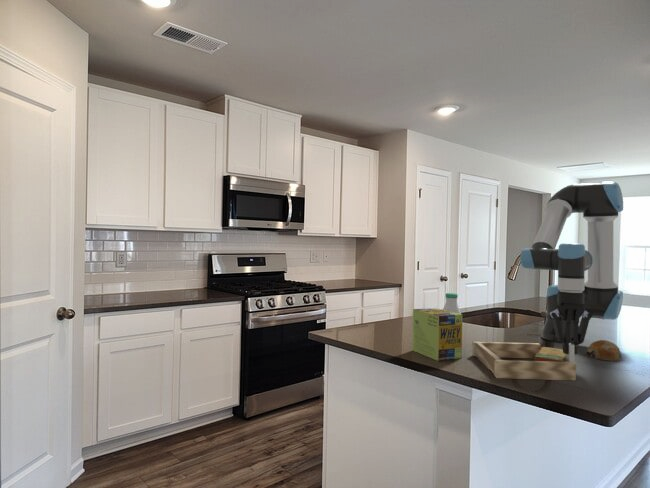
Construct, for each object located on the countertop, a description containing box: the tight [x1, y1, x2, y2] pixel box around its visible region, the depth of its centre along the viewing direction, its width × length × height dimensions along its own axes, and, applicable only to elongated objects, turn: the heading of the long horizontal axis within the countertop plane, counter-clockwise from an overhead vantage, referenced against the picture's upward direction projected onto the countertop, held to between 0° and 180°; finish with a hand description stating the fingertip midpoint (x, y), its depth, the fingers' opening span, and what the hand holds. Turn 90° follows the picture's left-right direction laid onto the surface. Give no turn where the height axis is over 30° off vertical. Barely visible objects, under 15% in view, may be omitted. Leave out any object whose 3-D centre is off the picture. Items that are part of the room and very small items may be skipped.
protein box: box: [411, 307, 463, 362], centre depth 154 cm, size 10×15×16 cm
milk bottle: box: [442, 292, 462, 314], centre depth 170 cm, size 8×8×20 cm
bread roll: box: [586, 339, 622, 362], centre depth 152 cm, size 10×10×8 cm
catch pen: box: [471, 341, 577, 381], centre depth 140 cm, size 23×25×5 cm
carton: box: [534, 346, 565, 362], centre depth 143 cm, size 8×16×4 cm, turn 146°
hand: (569, 363), depth 138 cm, fingers closed
